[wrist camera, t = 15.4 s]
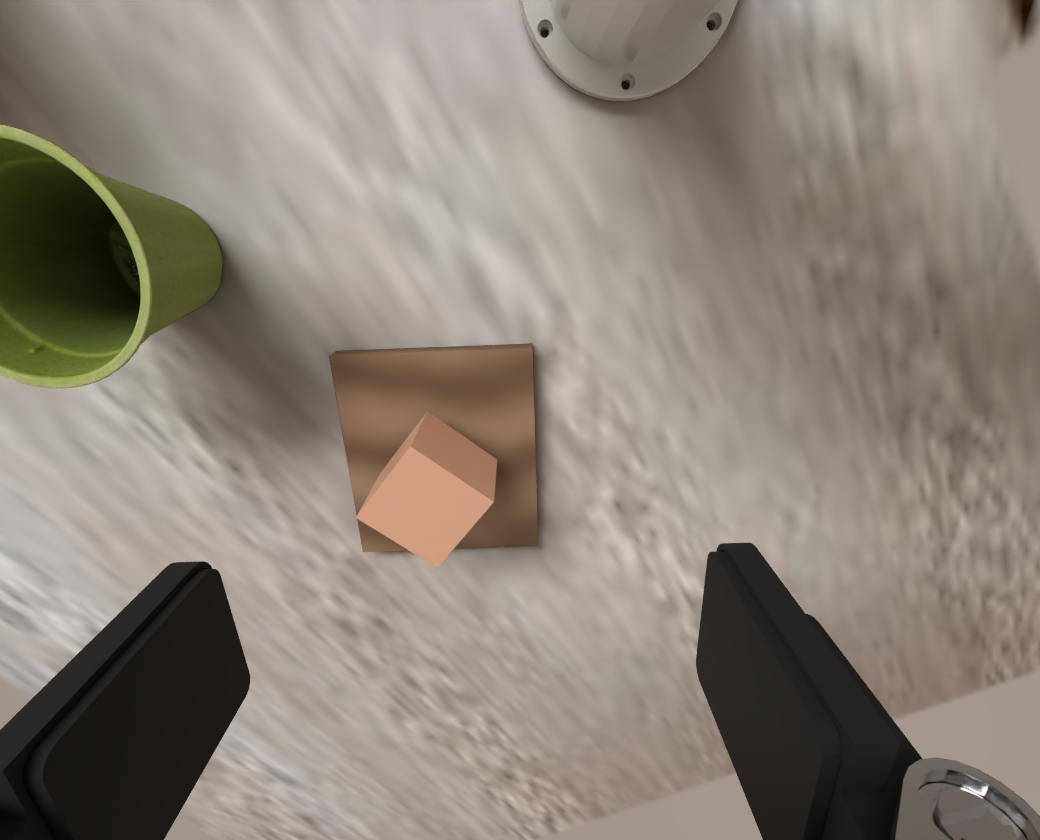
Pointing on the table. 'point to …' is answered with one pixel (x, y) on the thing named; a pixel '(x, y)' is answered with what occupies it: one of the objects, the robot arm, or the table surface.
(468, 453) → the salmon orange cube
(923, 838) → the robot arm
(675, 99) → the table surface
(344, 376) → the post board
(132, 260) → the plant pot
